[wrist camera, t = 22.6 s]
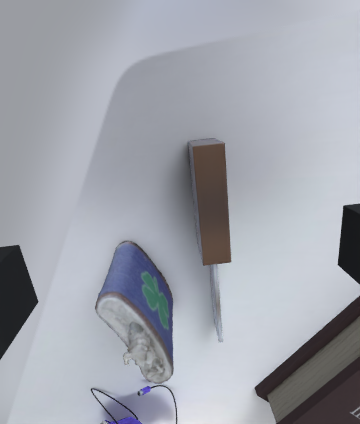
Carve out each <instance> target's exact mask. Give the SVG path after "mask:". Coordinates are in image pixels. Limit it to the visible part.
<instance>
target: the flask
mask: <svg viewBox="0 0 360 424" xmlns="http://www.w3.org/2000/svg"><path fill="white" fill-rule="evenodd" d="M172 309H173V298H172V293H171V291H170V289H169V286H168V284H167V283H166V280H165V278H164V277H163V276H162V273H161V272H160V271H159V270H158V269H157V267H156V266H155V265H154V263H153V262H152V261H151V259H149V257H148V255H146V253H145V252H144V251H143V250H142V249H141V248H140V247H139V246H137V245H136V244H135V243H132V242H127V241H126V242H123V243H121V244H120V245H118V246H117V247H116V250H115V253H114V257H113V260H112V263H111V265H110V268H109V272H108V274H107V276H106V280H105V282H104V285H103V288H102V290H101V292H100V293H99V295H98V299H97V302H96V306H95V310H96V312H97V314H98V316H99V317H100V318H101V319H102V320H103V321H104V322H106V324H107V325H108V326H109V327H110V328H112V329H113V330H114V331H115V332H116V333H117V335H118V336H119V337H120V338H121V339H122V341H123V342H124V343H125V344H126V346H127V347H128V349H127V350H128V353H124V355H123V359H124V364H125V365H127V366H129V363H128V361H129V360H130V359H133V360H135V364H136V365H138V366H139V367H140V369H141V372H142V375H143V376H144V377H145V379H146V380H148V381H149V382H154V383H163V382H165V381H167V380H168V379H169V378H170V377H171V376H172V375H173V369H174V368H173V340H172V331H173V328H172V326H173V320H172V316H173V314H172V312H173V311H172Z"/></svg>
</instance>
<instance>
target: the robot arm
mask: <svg viewBox="0 0 360 424" xmlns="http://www.w3.org/2000/svg"><path fill="white" fill-rule="evenodd" d="M338 265H339V266H340V267H341V268H342V269H343V270H344V271H345V272H346V273H348V274H349V275H350V276H351V277H352V278H353V279H354V280H355V281H356V282H358V283H359V284H360V204H353V205H345V206H343V217H342V227H341V237H340V248H339V258H338ZM37 303H38V299H37V296H36V293H35V291H34V287H33V284H32V281H31V279H30V276H29V273H28V270H27V267H26V264H25V261H24V258H23V255H22V252H21V249H20V246H19V245H14V246H6V247H0V359H1V358H2V356H3V355H4V353H5V352H6V350H7V349H8V347H9V346H10V344H11V343H12V341H13V340H14V338H15V337H16V335H17V334H18V332H19V331H20V329H21V328H22V326H23V324H24V323H25V322H26V320H27V318H28V317H29V315H30V314H31V312H32V311H33V309H34V308H35V306H36V305H37Z"/></svg>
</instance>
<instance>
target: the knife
mask: <svg viewBox="0 0 360 424" xmlns="http://www.w3.org/2000/svg"><path fill="white" fill-rule="evenodd" d="M188 147H189V157H190V167H191V178H192V188H193V198H194V209H195V219H196V229H197V239H198V246H199V250H200V254H201V258H202V262H203V265H204V266H205V265H210V274H211V286H212V297H213V309H214V321H215V327H216V331H217V336H218V340H219V343H220V342H223V336H222V323H221V309H220V296H219V282H218V269H217V264H222V263H230V262H231V248H230V230H229V212H228V194H227V176H226V158H225V143H224V142H222V141H220V140H217V139H215V138H211V139H202V140H194V141H188Z"/></svg>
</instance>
